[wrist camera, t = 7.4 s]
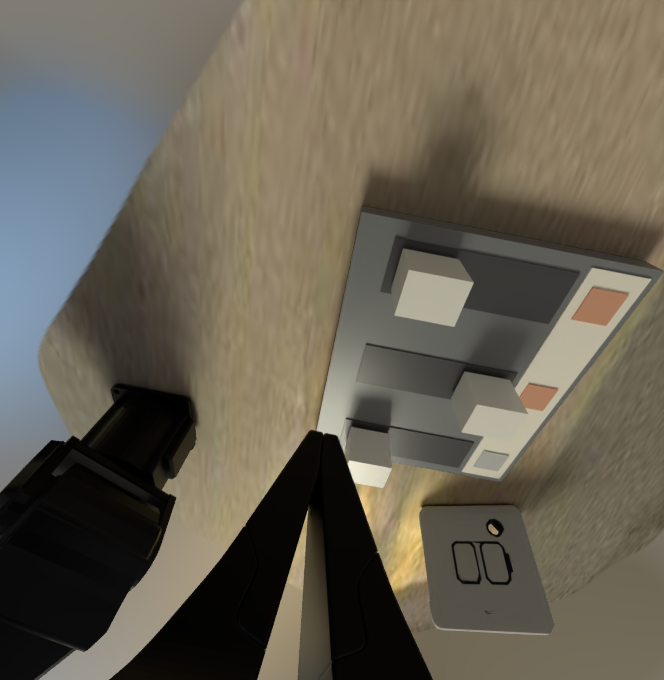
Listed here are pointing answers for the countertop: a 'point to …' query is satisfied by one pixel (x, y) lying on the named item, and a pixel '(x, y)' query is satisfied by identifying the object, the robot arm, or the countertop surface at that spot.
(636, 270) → the switch housing
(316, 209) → the countertop surface
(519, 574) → the electrical switch
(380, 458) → the switch tab
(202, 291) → the countertop surface
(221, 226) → the countertop surface
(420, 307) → the switch tab
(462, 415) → the switch tab
